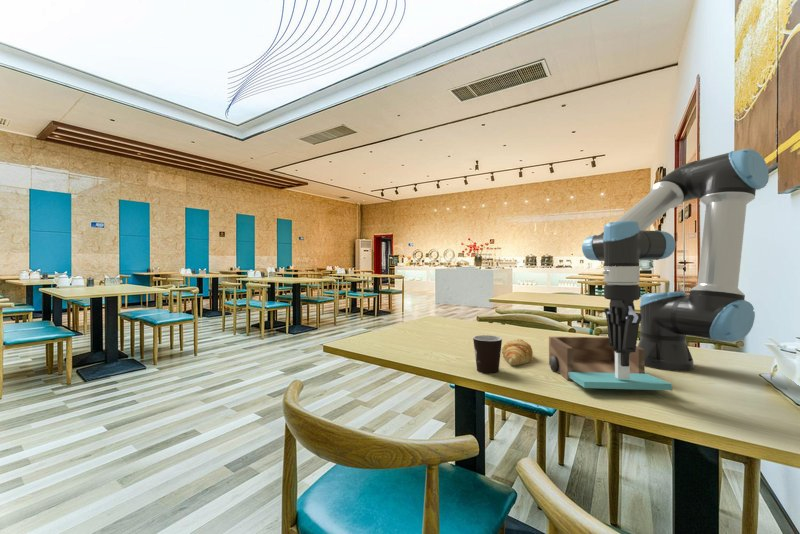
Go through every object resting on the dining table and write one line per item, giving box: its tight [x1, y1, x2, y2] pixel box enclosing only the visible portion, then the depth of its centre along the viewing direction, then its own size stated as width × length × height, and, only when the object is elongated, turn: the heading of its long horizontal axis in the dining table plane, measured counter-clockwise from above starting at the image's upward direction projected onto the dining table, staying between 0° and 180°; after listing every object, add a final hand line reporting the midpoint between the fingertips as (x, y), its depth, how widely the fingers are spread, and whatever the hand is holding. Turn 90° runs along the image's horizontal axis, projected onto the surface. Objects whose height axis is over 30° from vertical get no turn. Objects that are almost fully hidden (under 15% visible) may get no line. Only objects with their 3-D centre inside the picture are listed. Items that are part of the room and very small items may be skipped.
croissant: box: [501, 339, 533, 366], centre depth 119 cm, size 21×10×8 cm, turn 154°
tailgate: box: [568, 372, 673, 391], centre depth 90 cm, size 20×2×11 cm
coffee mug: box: [472, 334, 503, 375], centre depth 107 cm, size 12×9×10 cm
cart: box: [548, 336, 646, 382], centre depth 103 cm, size 23×16×9 cm
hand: (622, 377), depth 87 cm, fingers closed
